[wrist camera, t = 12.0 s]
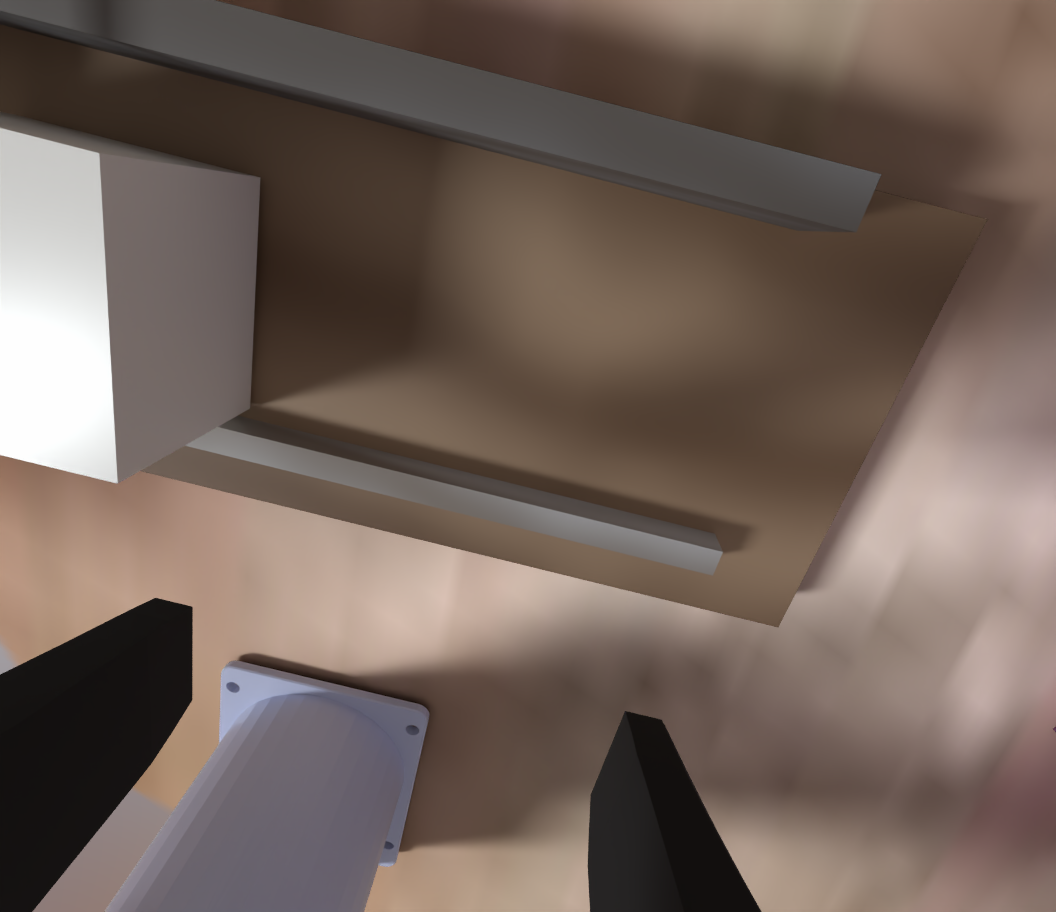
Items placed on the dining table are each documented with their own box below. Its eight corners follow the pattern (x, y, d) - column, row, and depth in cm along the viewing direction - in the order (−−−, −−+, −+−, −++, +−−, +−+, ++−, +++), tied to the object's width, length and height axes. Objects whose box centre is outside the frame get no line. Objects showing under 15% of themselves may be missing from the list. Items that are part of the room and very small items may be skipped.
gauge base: (763, 597, 19) (896, 861, 11) (-126, 379, 18) (-646, 494, 11) (947, 219, 14) (1397, 213, 6) (-231, -87, 14) (-1294, -498, 6)
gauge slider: (249, 408, 16) (117, 483, 11) (40, 356, 16) (-181, 410, 11) (266, 45, 13) (88, -58, 8) (0, -24, 12) (-339, -170, 8)
